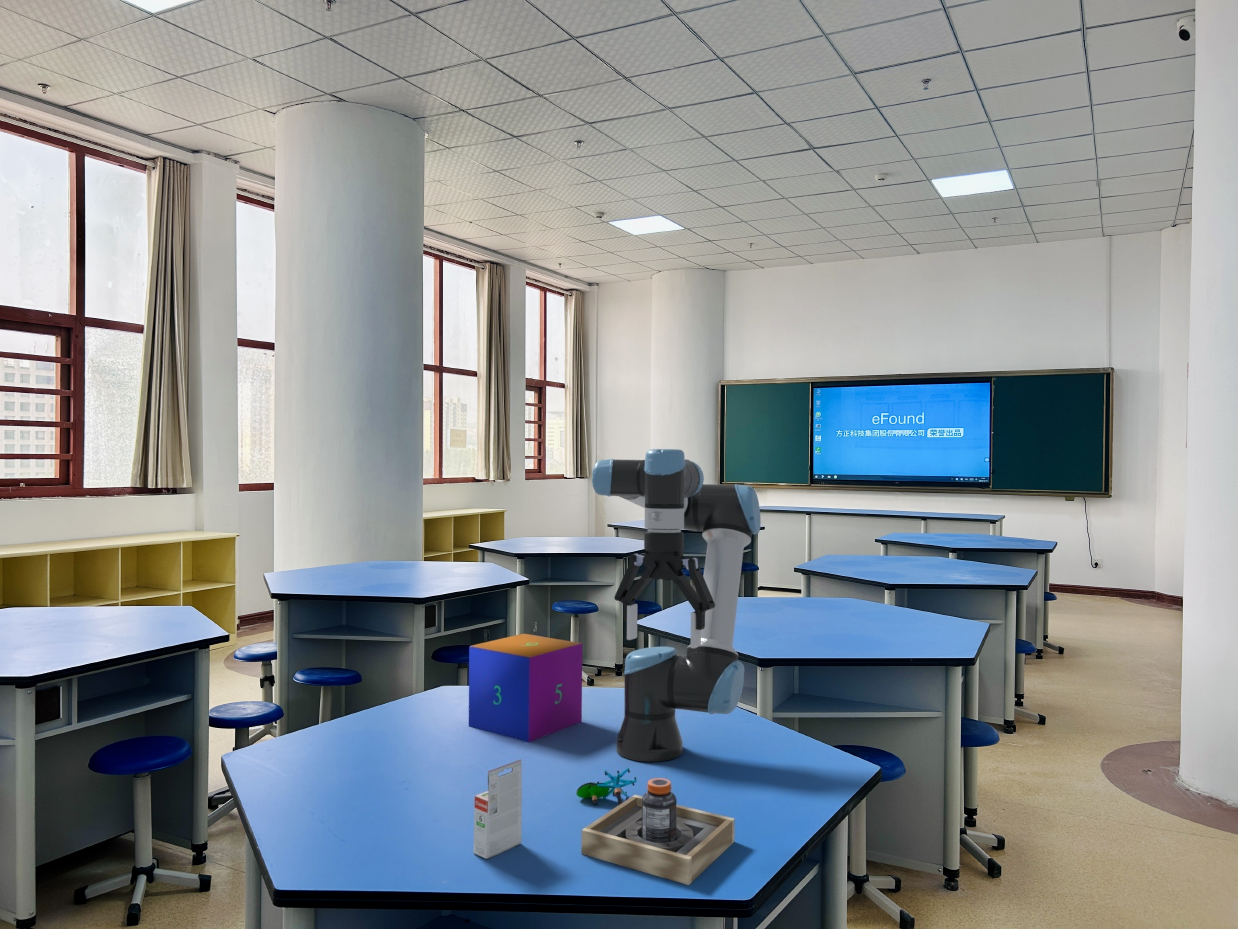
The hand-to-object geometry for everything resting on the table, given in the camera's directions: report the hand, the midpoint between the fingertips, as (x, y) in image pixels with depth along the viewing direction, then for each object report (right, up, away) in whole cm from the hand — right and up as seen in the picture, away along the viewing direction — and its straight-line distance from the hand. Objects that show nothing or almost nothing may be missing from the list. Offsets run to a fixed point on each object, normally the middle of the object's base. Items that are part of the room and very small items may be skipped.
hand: (663, 642), depth 160 cm
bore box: (-1, -32, -16) cm, 35 cm away
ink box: (-29, -32, -17) cm, 46 cm away
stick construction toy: (-10, -32, +3) cm, 34 cm away
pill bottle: (-1, -32, -16) cm, 36 cm away
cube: (-32, -32, +53) cm, 69 cm away
